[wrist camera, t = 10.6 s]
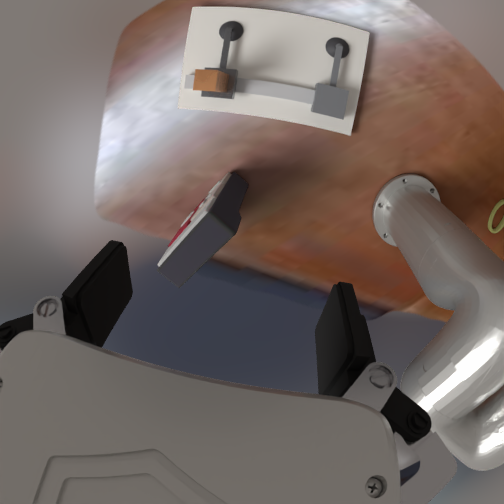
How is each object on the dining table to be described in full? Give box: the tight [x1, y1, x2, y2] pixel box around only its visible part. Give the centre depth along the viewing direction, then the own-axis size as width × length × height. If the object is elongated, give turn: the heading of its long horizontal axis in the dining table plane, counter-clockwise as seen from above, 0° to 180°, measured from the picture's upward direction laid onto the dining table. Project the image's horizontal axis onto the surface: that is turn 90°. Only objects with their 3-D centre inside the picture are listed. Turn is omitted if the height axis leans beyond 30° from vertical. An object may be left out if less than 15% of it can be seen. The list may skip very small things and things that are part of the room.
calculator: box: [157, 172, 248, 288], centre depth 36 cm, size 11×4×15 cm, turn 137°
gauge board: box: [178, 7, 370, 136], centre depth 29 cm, size 24×16×4 cm, turn 82°
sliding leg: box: [193, 26, 238, 99], centre depth 26 cm, size 4×10×8 cm, turn 172°
